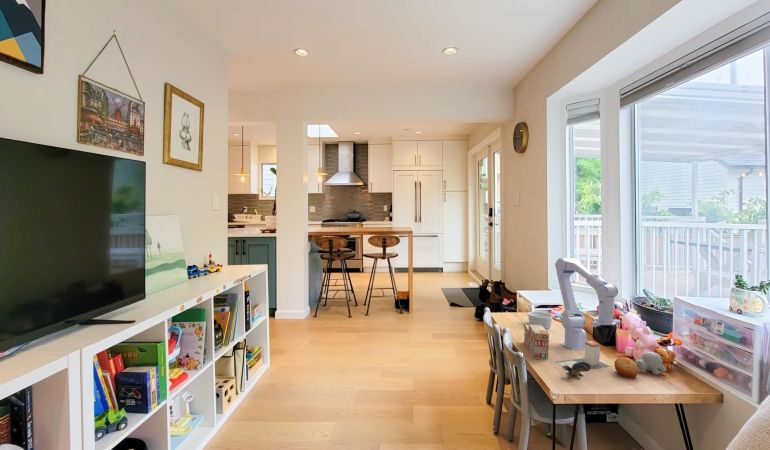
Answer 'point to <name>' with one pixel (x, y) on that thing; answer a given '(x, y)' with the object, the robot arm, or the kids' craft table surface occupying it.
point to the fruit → (626, 367)
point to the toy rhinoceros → (650, 363)
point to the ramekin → (540, 319)
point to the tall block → (592, 352)
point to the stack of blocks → (537, 341)
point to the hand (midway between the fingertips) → (604, 341)
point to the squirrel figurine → (576, 369)
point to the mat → (571, 362)
